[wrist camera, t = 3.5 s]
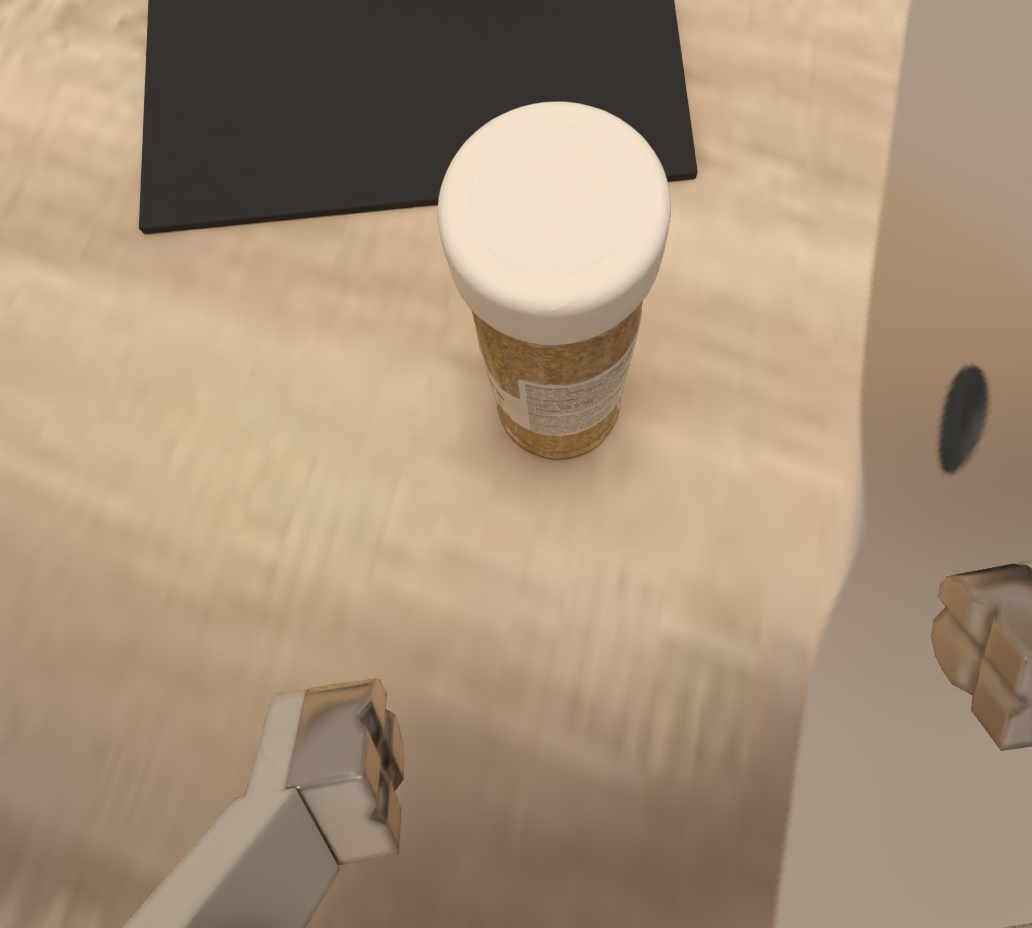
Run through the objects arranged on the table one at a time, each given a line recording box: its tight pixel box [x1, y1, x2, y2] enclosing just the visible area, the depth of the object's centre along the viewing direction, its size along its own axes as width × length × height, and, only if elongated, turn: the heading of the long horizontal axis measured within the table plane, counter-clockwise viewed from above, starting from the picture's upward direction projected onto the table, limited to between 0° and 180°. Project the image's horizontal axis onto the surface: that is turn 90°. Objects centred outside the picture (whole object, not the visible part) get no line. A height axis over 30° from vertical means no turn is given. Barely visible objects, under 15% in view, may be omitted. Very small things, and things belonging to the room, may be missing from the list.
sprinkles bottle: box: [438, 102, 671, 459], centre depth 21 cm, size 5×5×14 cm
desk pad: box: [139, 0, 698, 233], centre depth 31 cm, size 22×15×1 cm
